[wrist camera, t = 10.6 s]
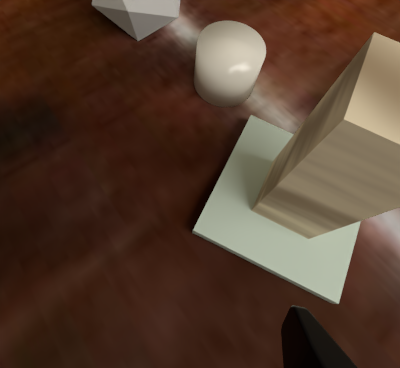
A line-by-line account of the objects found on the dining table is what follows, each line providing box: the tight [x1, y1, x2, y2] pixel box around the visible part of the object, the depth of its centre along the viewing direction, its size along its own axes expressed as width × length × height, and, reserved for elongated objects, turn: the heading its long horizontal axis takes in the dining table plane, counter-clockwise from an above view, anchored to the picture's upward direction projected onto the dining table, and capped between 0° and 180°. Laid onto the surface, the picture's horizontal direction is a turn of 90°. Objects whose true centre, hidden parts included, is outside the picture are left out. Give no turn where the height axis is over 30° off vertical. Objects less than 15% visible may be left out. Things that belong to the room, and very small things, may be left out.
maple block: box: [251, 32, 400, 239], centre depth 17 cm, size 5×5×13 cm
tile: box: [192, 115, 361, 304], centre depth 23 cm, size 12×12×1 cm
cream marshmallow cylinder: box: [194, 21, 266, 107], centre depth 26 cm, size 6×6×4 cm
